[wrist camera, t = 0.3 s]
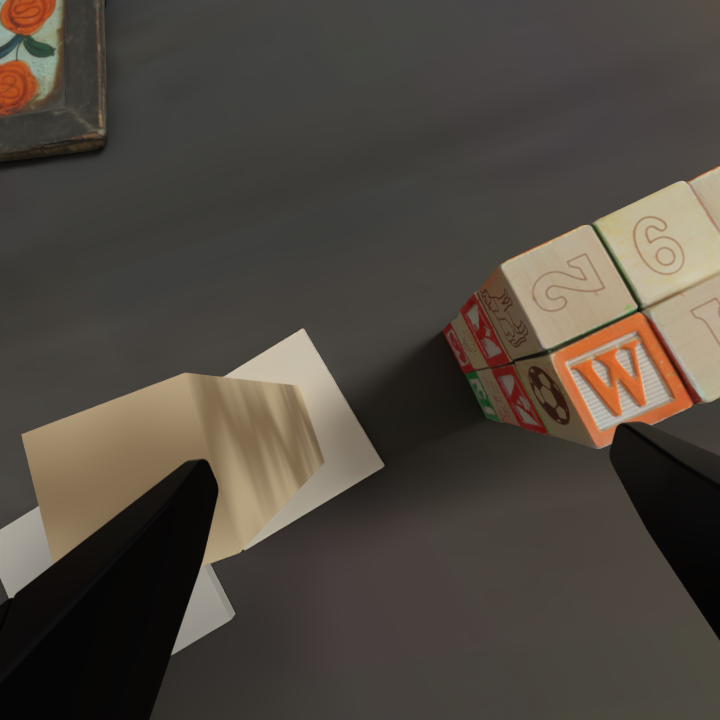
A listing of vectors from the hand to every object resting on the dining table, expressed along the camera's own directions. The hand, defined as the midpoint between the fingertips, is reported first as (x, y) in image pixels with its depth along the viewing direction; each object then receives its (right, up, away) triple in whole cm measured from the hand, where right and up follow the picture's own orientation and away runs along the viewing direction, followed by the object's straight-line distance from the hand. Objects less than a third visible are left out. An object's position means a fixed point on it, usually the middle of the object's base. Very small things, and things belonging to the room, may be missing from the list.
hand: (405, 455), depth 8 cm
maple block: (-6, -3, +15) cm, 16 cm away
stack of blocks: (+15, +6, +15) cm, 22 cm away
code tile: (-6, -3, +15) cm, 17 cm away
